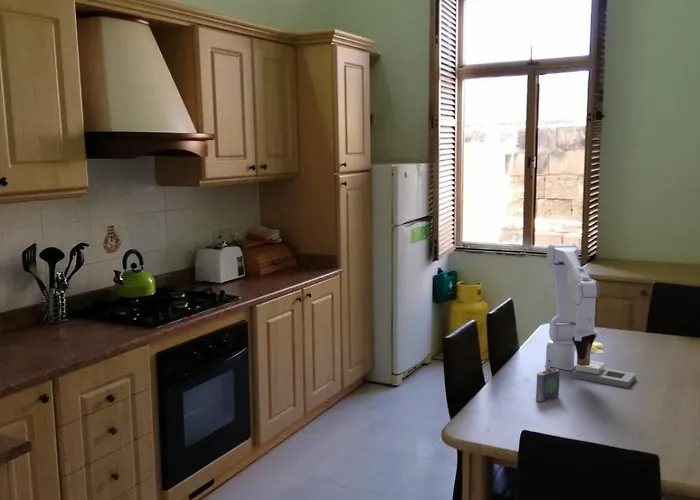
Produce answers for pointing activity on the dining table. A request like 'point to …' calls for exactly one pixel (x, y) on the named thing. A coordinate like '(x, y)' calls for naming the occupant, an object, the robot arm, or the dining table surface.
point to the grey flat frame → (608, 377)
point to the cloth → (596, 347)
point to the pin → (587, 359)
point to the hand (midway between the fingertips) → (583, 356)
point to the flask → (547, 384)
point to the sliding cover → (591, 367)
